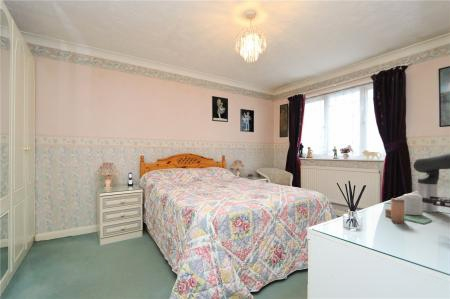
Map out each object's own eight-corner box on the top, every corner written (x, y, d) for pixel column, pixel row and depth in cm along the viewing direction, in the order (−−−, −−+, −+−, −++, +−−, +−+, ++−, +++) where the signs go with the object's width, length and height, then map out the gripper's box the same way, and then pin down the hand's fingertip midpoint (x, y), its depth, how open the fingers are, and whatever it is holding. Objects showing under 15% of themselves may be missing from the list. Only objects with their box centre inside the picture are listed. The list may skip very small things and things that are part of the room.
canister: (394, 219, 120) (394, 197, 121) (406, 222, 116) (406, 199, 116) (389, 221, 118) (389, 198, 118) (401, 224, 113) (401, 201, 113)
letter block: (388, 215, 129) (388, 208, 129) (396, 217, 125) (396, 209, 125) (385, 216, 127) (385, 209, 127) (393, 218, 123) (393, 210, 124)
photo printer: (418, 213, 132) (418, 193, 132) (424, 215, 128) (424, 194, 128) (400, 213, 133) (400, 192, 133) (405, 215, 129) (405, 194, 129)
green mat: (408, 216, 126) (408, 215, 126) (431, 221, 118) (431, 220, 118) (400, 219, 121) (400, 218, 121) (423, 224, 113) (423, 223, 113)
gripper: (480, 195, 96) (431, 190, 110) (470, 198, 89) (419, 192, 103) (481, 212, 96) (432, 205, 110) (470, 217, 89) (420, 208, 103)
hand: (426, 199), depth 106 cm, fingers open, 8 cm apart
